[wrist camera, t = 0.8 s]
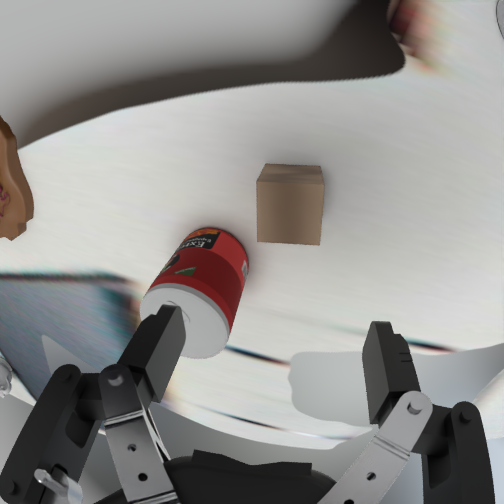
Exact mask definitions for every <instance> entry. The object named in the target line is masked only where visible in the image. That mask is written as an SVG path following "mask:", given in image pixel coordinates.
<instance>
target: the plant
mask: <svg viewBox="0 0 504 504" xmlns="http://www.w3.org/2000/svg"><path fill="white" fill-rule="evenodd" d="M17 150H18V149H17V139H16V136H15V135H14V134H13V132H12V130H11V128H10V126H9V125H8V123H6V122H5V121H4V120H3V118H2V117H1V115H0V238H2V237H6V238H8V239H9V240H11V241H12V240H14V239H15V238H16V237H18V236H19V235H21V234H22V233H23V232H25V231H26V222H27V221H29V220H30V219H32V218H33V212H34V204H33V197H32V193H31V190H30V187H29V185H28V182H27V180H26V178H25V175H24V173H23V171H22V168H21V164H20V161H19V157H18V153H17Z"/></svg>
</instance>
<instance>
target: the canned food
mask: <svg viewBox="0 0 504 504" xmlns="http://www.w3.org/2000/svg"><path fill="white" fill-rule="evenodd" d="M247 274H248V260H247V256H246V253H245V251H244V249H243V247H242V245H241V244H240V243H239V242H238V241H237V240H236V239H235V238H234V237H233V236H232V235H230V234H228V233H226V232H225V231H222V230H219V229H213V228H206V229H201V230H198V231H195V232H193V233H192V234H190V235H189V236H187V237H186V238H185V239H184V241H183V242H182V243H181V245H180V246H179V247H178V249H177V250H176V252H175V253H174V254H173V256H172V257H171V258H170V260H169V261H168V262H167V264H166V265H165V267H164V268H163V269H162V271H161V272H160V273H159V275H158V276H157V278H156V279H155V280H154V282H153V283H152V285H151V286H150V288H149V290H148V291H147V292H146V294H145V296H144V297H143V300H142V302H141V305H140V316H141V320H142V321H143V320H144V319H145V318H146V317H148V316H149V315H150V314H154V315H156V314H157V312H158V310H159V308H160V307H161V305H162V304H167V305H175V306H180V307H181V310H182V315H183V320H184V325H185V330H186V341H185V345H184V347H183V350H182V352H181V354H180V356H183V357H188V358H194V359H205V358H209V357H213V356H215V355H217V354H219V353H220V352H221V351H222V350H223V349H224V347H225V345H226V343H227V341H228V338H229V335H230V332H231V329H232V326H233V322H234V319H235V315H236V312H237V309H238V305H239V302H240V298H241V295H242V291H243V288H244V284H245V281H246V277H247Z"/></svg>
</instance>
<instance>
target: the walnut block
mask: <svg viewBox="0 0 504 504" xmlns="http://www.w3.org/2000/svg"><path fill="white" fill-rule="evenodd" d="M256 184H257V242H270V243H287V244H304V245H320V236H321V225H322V213H323V200H324V186H325V185H324V180H323V176H322V172H321V168H320V166H307V165H286V164H265V166H264V168H263V170H262V172H261V174H260V176H259V178H258V180H257V182H256Z"/></svg>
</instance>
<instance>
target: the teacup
mask: <svg viewBox="0 0 504 504" xmlns="http://www.w3.org/2000/svg"><path fill="white" fill-rule="evenodd" d="M11 371H12V368H11V366H10V365H9V364H8V363H7V362H6V361H5V360H4V359H3V358H0V397H2V398H5V394H8V393H9V392H10V391H11V383H10V382H11V379H12V376H11V373H10V372H11Z"/></svg>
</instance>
